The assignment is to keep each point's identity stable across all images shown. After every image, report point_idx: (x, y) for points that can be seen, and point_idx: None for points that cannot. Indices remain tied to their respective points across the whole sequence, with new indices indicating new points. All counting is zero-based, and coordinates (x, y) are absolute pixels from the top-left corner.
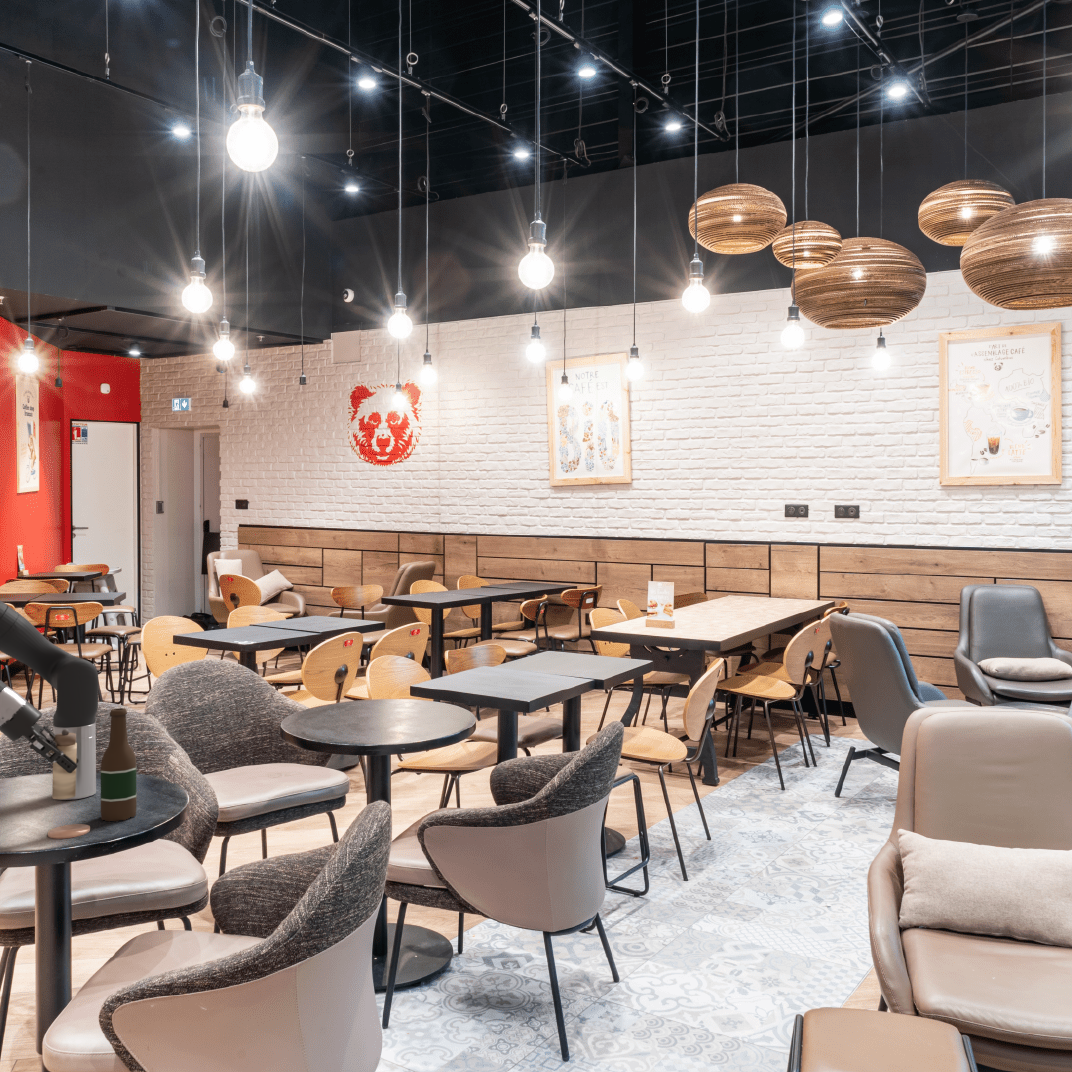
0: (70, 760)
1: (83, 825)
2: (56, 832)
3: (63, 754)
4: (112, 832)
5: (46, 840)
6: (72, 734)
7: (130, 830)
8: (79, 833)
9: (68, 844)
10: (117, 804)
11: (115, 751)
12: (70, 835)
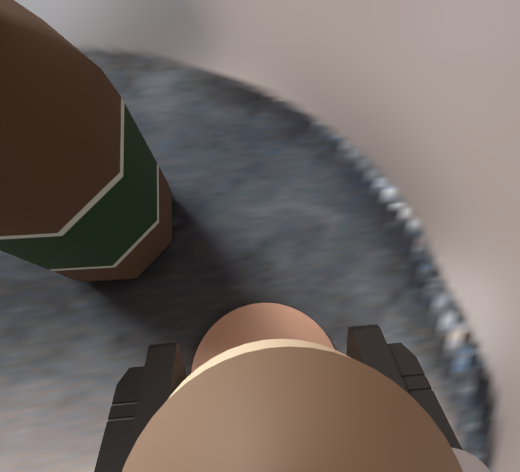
0: (397, 380)
1: (223, 330)
2: None
3: (462, 456)
4: (312, 223)
5: None
6: (294, 402)
7: (307, 168)
8: (323, 331)
9: (418, 356)
10: (162, 201)
11: (36, 83)
12: None
